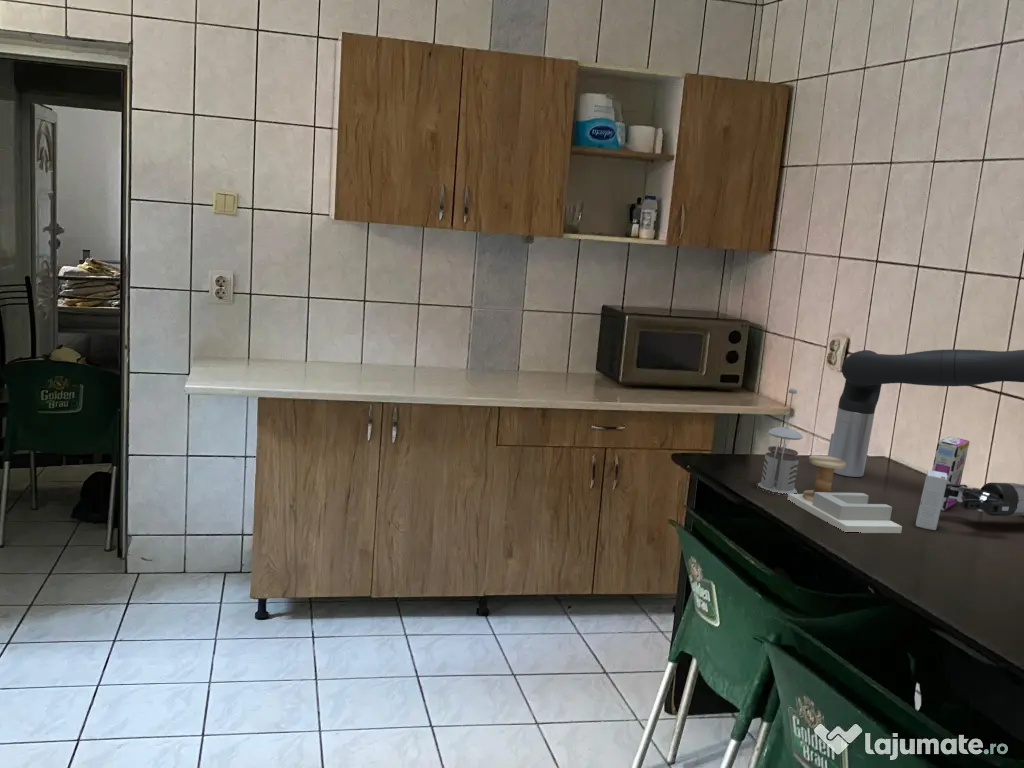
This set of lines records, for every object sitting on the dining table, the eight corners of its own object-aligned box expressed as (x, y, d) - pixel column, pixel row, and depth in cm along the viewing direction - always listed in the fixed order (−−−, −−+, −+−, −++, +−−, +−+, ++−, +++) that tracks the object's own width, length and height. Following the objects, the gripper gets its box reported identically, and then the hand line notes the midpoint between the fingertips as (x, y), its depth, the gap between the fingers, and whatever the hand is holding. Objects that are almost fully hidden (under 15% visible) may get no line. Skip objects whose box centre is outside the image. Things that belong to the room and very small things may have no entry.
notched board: (787, 499, 215) (790, 481, 214) (838, 500, 219) (841, 482, 218) (845, 532, 194) (849, 512, 193) (900, 533, 198) (904, 513, 197)
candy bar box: (945, 512, 219) (958, 445, 216) (923, 506, 222) (936, 440, 219) (957, 504, 228) (970, 439, 225) (936, 498, 231) (949, 435, 228)
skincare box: (916, 520, 210) (925, 468, 208) (937, 524, 208) (947, 472, 206) (915, 526, 204) (925, 474, 202) (937, 531, 202) (948, 478, 200)
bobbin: (795, 493, 215) (802, 454, 213) (825, 494, 217) (831, 455, 216) (816, 504, 208) (822, 464, 206) (846, 505, 210) (853, 465, 208)
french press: (800, 488, 226) (817, 389, 222) (793, 499, 216) (810, 395, 211) (759, 480, 230) (775, 382, 226) (751, 490, 220) (767, 388, 215)
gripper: (986, 474, 217) (929, 472, 212) (1035, 493, 204) (976, 491, 199) (979, 505, 218) (923, 504, 214) (1028, 525, 205) (969, 525, 200)
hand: (949, 498), depth 206 cm, fingers open, 8 cm apart
